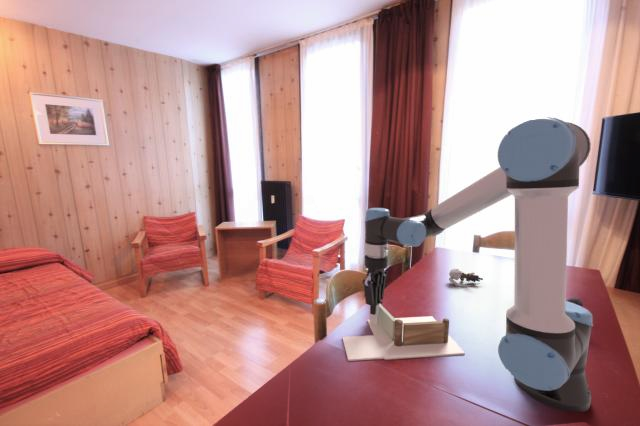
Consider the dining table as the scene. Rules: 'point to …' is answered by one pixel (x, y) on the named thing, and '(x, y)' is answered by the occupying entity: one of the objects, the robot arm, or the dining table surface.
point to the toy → (462, 277)
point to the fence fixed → (421, 332)
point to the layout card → (384, 346)
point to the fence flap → (386, 321)
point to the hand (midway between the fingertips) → (374, 321)
